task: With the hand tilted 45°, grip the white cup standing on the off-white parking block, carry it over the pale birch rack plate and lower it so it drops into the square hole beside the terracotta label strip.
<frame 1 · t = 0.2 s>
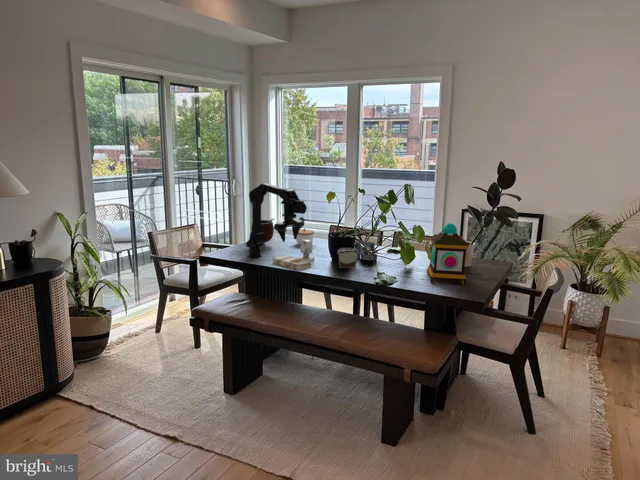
hand: (289, 240, 264), 14 cm above the table, tool pointing down, fingers open, 9 cm apart
decorative lantern: (445, 280, 249), on the table
mate gourd: (263, 248, 305), on the table
parking block: (306, 260, 278), on the table
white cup: (306, 257, 278), point 2 cm above the table, touching parking block
rack plate: (291, 264, 268), on the table
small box: (363, 259, 286), on the table
food container: (345, 266, 269), on the table
lidded bowl: (304, 245, 318), on the table
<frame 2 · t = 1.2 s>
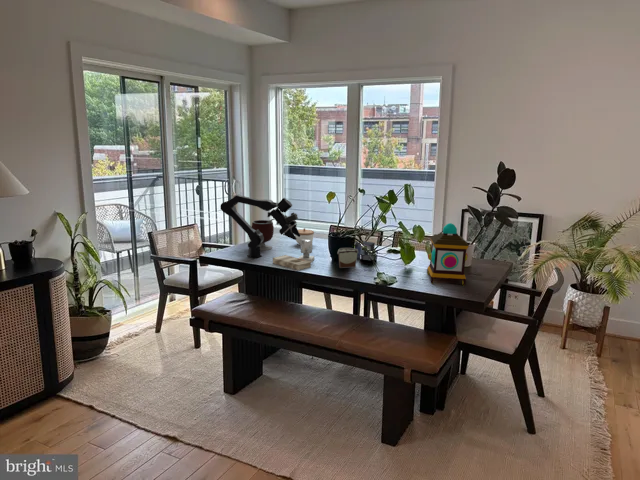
hand: (297, 237, 276), 13 cm above the table, tool tilted 45°, fingers open, 9 cm apart
nothing on the table moved.
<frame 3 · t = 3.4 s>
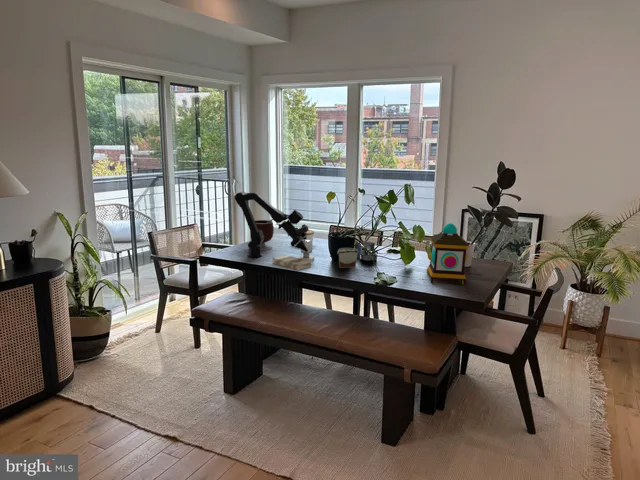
hand: (308, 249, 277), 7 cm above the table, tool tilted 45°, fingers closed on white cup, 7 cm apart
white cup: (306, 257, 278), point 2 cm above the table, touching gripper, parking block
everything else where it was.
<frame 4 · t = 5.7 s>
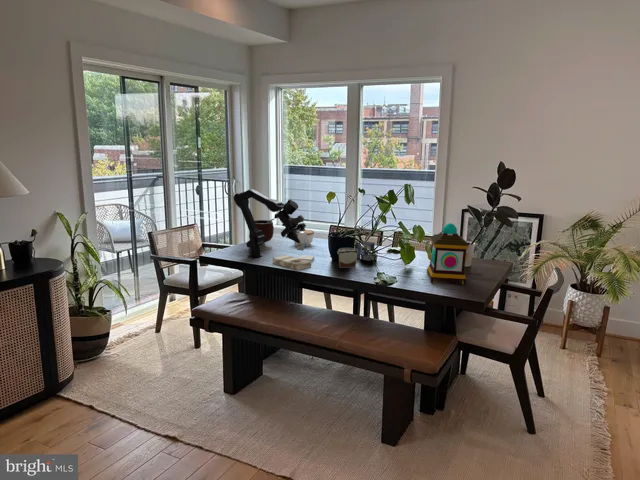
hand: (302, 241, 265), 13 cm above the table, tool tilted 45°, fingers closed on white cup, 7 cm apart
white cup: (300, 249, 267), point 9 cm above the table, touching gripper
everything else where it was.
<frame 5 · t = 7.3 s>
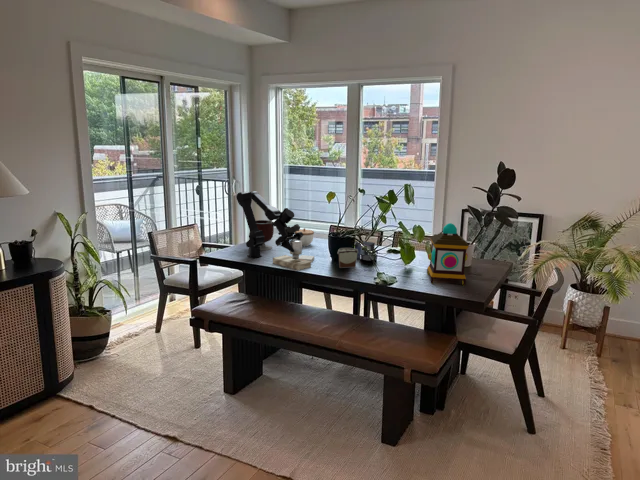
hand: (297, 251, 263), 9 cm above the table, tool tilted 45°, fingers closed on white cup, 7 cm apart
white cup: (295, 258, 265), point 4 cm above the table, touching gripper
everything else where it was.
when the fingers open (9 cm above the table, at t = 8.4 s): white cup drops 4 cm, resting on rack plate.
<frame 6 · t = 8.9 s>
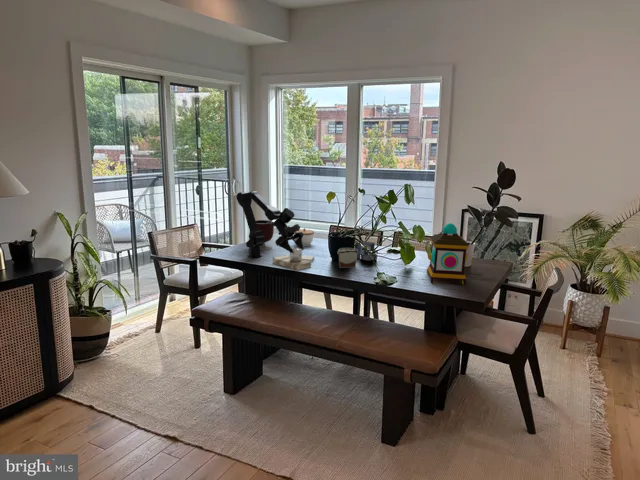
hand: (297, 250, 263), 9 cm above the table, tool tilted 45°, fingers open, 9 cm apart
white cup: (295, 266, 265), resting on rack plate
everything else where it was.
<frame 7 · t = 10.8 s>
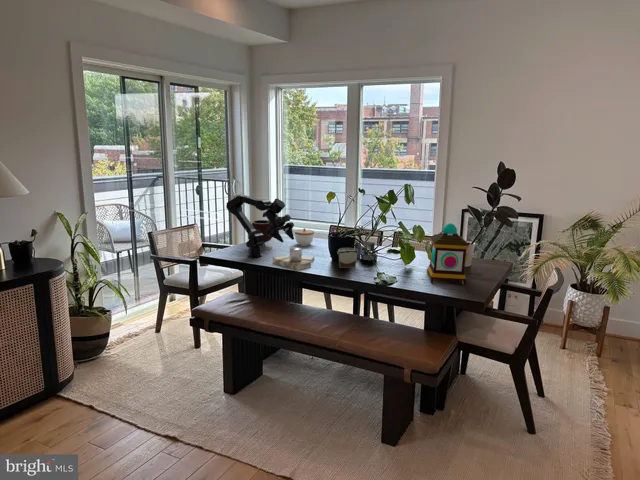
hand: (288, 240, 266), 14 cm above the table, tool tilted 45°, fingers open, 9 cm apart
nothing on the table moved.
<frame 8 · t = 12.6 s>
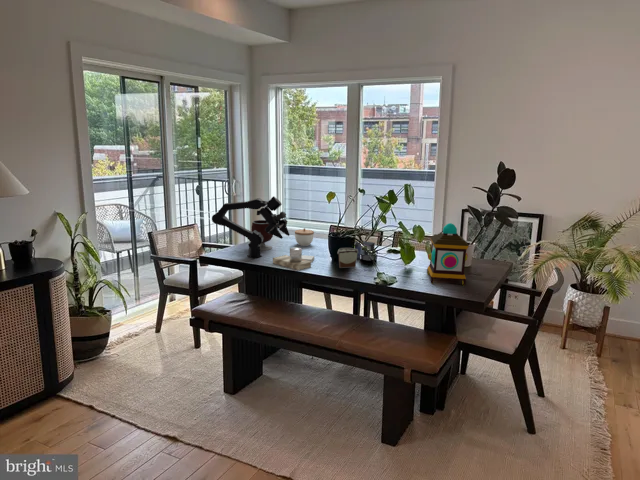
hand: (285, 236, 276), 14 cm above the table, tool tilted 45°, fingers open, 9 cm apart
nothing on the table moved.
at the end: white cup 0.0 cm from the target spot on the rack plate, point 0.0 cm above the rack plate's base; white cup tilted 0°; the gripper is holding nothing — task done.
